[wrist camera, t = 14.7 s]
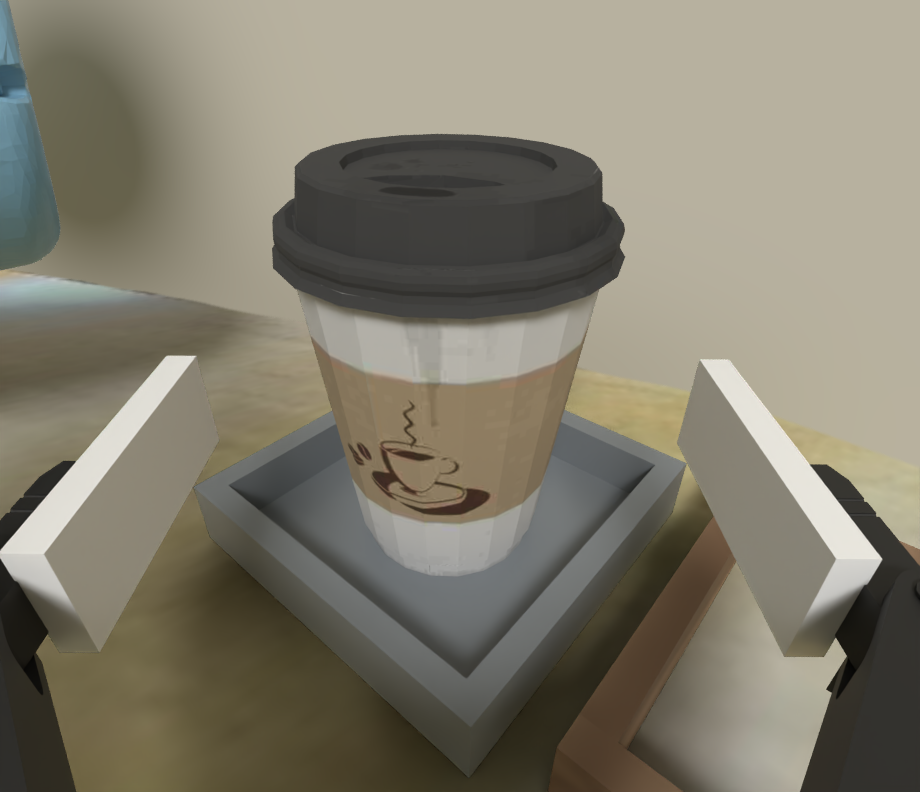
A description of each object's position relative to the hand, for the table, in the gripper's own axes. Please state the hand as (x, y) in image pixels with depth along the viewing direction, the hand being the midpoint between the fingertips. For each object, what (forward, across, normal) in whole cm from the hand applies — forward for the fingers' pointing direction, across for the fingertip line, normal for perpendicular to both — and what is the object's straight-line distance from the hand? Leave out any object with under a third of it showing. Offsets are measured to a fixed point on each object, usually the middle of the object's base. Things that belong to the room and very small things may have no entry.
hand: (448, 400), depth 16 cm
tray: (+6, 0, -11) cm, 12 cm away
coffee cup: (+6, 0, -10) cm, 12 cm away
